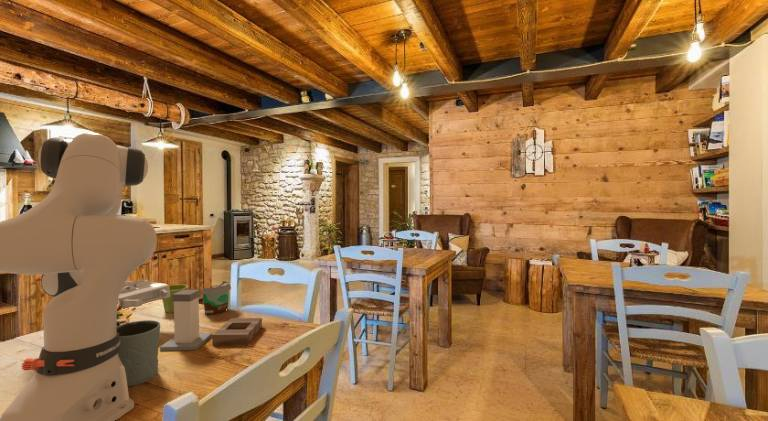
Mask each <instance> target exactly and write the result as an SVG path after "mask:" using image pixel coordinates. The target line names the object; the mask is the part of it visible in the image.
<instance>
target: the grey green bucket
mask: <svg viewBox="0 0 768 421" xmlns="http://www.w3.org/2000/svg"><path fill="white" fill-rule="evenodd" d="M117 332H118V333H119V339H120V351H119V352H118V355H119V358H120V361H121V362H122V364H123V366H124V368H125V373H126V379H127V387H132V386H136V385H140V384H143V383H146V382H148V381H151V380H152V379H154V378H155V377H156V376H157V374H158V371H159V358H158V357H159V344H160V333H161V322H159V321H158V320H152V319H151V320H147V319H146V320H136V321H130V322H126V323H122V324H120V325H117Z"/></svg>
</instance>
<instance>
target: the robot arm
mask: <svg viewBox="0 0 768 421" xmlns="http://www.w3.org/2000/svg"><path fill="white" fill-rule="evenodd" d="M38 150H39V151H38V154H37V160H38V161H37V162H38V164H39V167H40V170H41V172H42V173H43V174H45V175H46V176H47V177H49V178H52V179H55V180H54V182H53V184H52V188H51V190H50V191H49V193H48V194H47V195H46V196H45V197H44V198H43V199H42V200H41V201H40V202H38V203H37V204H36V205H34V206H33V207H31V208H29V209H28V210H26V211H25V212H22V213H20V214H18V215H16V216H13V217H11V218H7V219H5V220H2V221H0V273H2V274H14V275H30V276H31V275H33V276H36V275H37V276H38V275H41V278H40V285H41V288H42V290H43V292H44V293H45V294H46V295H48V296H50V297H53V298H51V300H49V301H48V302H47V304H46V305H45V307H44V308H43V312H42V323H43V324H42V326H43V347H42V348H41V350H40V353H39V356H38V358H37V357H36V358H32V357H30V358H29V357H28V358H25V359H24V360H23V361H22V364H21V365H20V367H21V370H23V371H25V372H26V371H34V372H35V373H34V375H33V376H32V378H30V380H29V381H28V382H27V383H26V385H25V386H24V387H23V388H22V389H21V391H20V392H19V393H18V394H17V396H16V397H15V398H14V399H13V401H11V403H10V404H9V405H8V407H6V408H5V410H4V411H3V413H2V414H1V416H0V421H115V420H116V421H117V420H119V419H120V418H122V417H123V416H125V414H127V413H129V412H130V411H132V410H133V409H134V408H135V402H134V400H133V399H132V398H130V395H129V394H130V393H129V390H128V389H129V386H127V379H126V373H125V368H124V366H123V364H122V362H121V361H120V358H119V355H118V352H119V351H120V339H119V333H118V332H117V326H118V325H117V321H118V320H117V318H118V317H117V314H118V311H117V304H118V300H119V302H120V306H121V308H123V309H125V308H128V309H130V308H134V307H135V308H138V307H141V306H143V304H146V303H148V302H151V301H157V300H159V299H162V298H169V297H170V287H169V286H170V285H169V284H167V283H163V282H154V281H152V282H150V280H148V279H143V280H140V279H139V280H133V281H131V280H130V281H129V280H128V279H129V277H131V275H132V274H133V273H134V272H135V271H136V270H137V269H138V268H139V267H140V266H142V265H143V264H145V263H147V262H148V260H150V258H151V257H152V256H153V254H154V253H155V251H156V249H157V243H158V236H157V232H156V230H155V228H154V226H153V224H152V223H151V222H150V221H149V220H147V219H146V218H144V217H140V216H139V217H138V216H133V215H132V216H131V215H125V214H118V213H119V211H120V209H121V205H122V196H123V186H125V187H133V186H138V185H140V184H142V183H143V181H144V179H145V178H146V177H147V175H148V171H149V163H148V160H147V157H146V155H145V153H144V152H143V151H142V150H141V149H138V148H135V147H132V146H128V147H126V146H123V145H120V144H119V145H118V144H116V142H114V141H113V140H112V139H111V138H110V137H109V136H106V135H105V134H104V135H103V134H101V133H97V132H87V133H86V132H83V133H81V134H78V135H76V136H75V137H73V138H67V137H64V136H63V137H59V136H58V137H50V138H48V139H46V140H44V141H43V143H42V145H41V146H40V148H39V149H38ZM129 307H130V308H129Z"/></svg>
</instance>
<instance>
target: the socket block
mask: <svg viewBox="0 0 768 421" xmlns="http://www.w3.org/2000/svg"><path fill="white" fill-rule="evenodd" d="M262 328H263V318H262V317H249V318H247V317H246V318H245V317H243V318H241V317H240V318H238V317H237V318H233V317H232V318H230V319H228V320H227V321H226V322H225V323H223V325H222V326H220V327H219V328H218V330H216V331H215V332H214V333H212V337H211V339H212V346H242V345H243V346H244V345H245V346H246V345H247V346H248V345H249V344H250V342H251V341H252V340H253V339H254V338H255V337H256V335H257V334H258V333H259V332H260V330H261V329H262Z"/></svg>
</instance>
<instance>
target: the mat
mask: <svg viewBox="0 0 768 421" xmlns="http://www.w3.org/2000/svg"><path fill="white" fill-rule="evenodd" d="M212 335H213V332H199V337H198V338H197V339H195V340H194V341H193V342H191V343H175V335H174V336H173V337H172V338H170V339H169V340H168V341H166V342H164V344H162V345H161V346H159V351H160V352H161V351H164V352H165V351H197V350H199V348H201V347H202V346H203V345H204V344H206V342H207V341H209V340H210V339H212Z"/></svg>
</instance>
